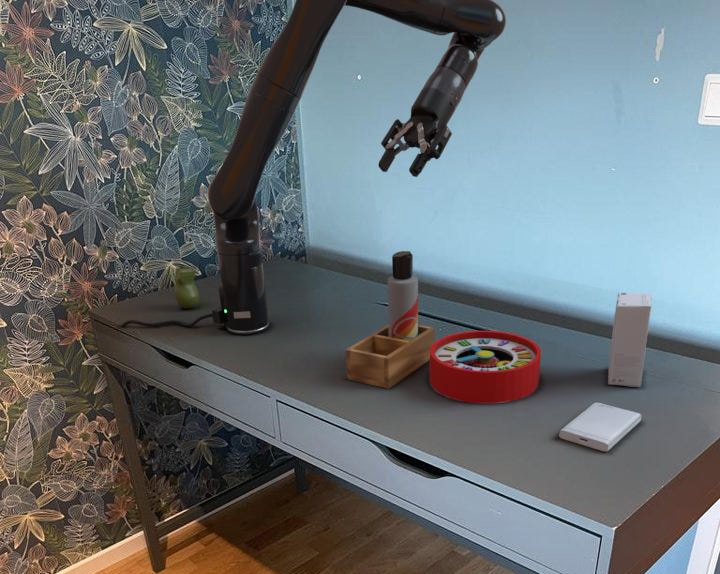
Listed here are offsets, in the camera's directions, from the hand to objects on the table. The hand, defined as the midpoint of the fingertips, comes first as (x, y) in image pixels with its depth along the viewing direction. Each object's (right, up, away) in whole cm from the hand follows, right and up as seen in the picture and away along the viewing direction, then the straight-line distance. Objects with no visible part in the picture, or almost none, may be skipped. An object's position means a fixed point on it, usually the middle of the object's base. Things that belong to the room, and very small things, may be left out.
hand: (396, 171), depth 148 cm
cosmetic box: (+41, -41, -7) cm, 58 cm away
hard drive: (+32, -52, -24) cm, 65 cm away
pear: (-48, -18, +37) cm, 64 cm away
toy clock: (+16, -41, -5) cm, 44 cm away
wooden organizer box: (-1, -38, +1) cm, 38 cm away
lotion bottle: (+1, -35, +4) cm, 35 cm away
